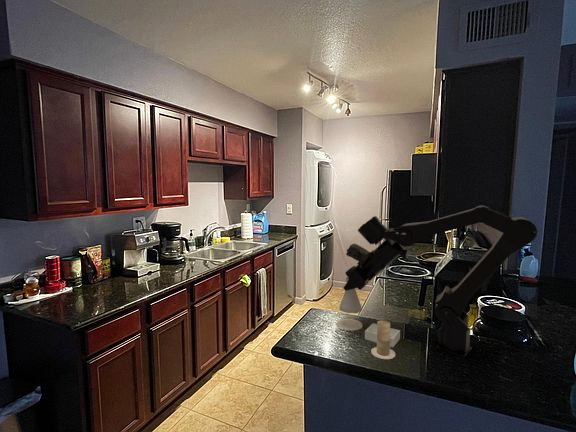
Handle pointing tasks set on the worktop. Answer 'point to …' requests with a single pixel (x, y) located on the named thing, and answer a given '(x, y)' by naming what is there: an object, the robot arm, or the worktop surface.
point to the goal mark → (349, 324)
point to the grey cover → (372, 334)
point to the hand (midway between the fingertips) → (346, 287)
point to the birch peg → (383, 338)
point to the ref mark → (390, 356)
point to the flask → (350, 301)
